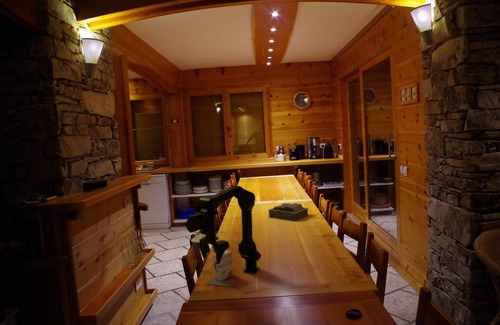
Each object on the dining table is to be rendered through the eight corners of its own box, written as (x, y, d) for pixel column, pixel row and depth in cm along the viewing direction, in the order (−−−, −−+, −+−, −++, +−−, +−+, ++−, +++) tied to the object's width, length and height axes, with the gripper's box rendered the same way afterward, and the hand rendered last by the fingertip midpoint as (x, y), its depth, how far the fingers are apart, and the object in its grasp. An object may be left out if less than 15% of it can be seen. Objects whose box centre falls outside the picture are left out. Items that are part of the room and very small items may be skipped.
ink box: (225, 273, 170) (224, 249, 169) (233, 275, 167) (232, 251, 166) (213, 278, 163) (212, 254, 162) (220, 281, 160) (219, 256, 159)
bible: (290, 223, 249) (290, 210, 248) (265, 217, 270) (264, 204, 268) (311, 217, 264) (311, 204, 262) (286, 211, 284) (285, 199, 283)
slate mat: (211, 279, 164) (211, 278, 164) (237, 281, 160) (237, 281, 160) (206, 284, 158) (206, 284, 158) (233, 287, 155) (233, 286, 155)
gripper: (180, 227, 149) (183, 262, 151) (208, 235, 136) (210, 273, 138) (201, 221, 157) (203, 254, 159) (229, 228, 144) (231, 264, 146)
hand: (211, 261), depth 150 cm, fingers open, 9 cm apart
